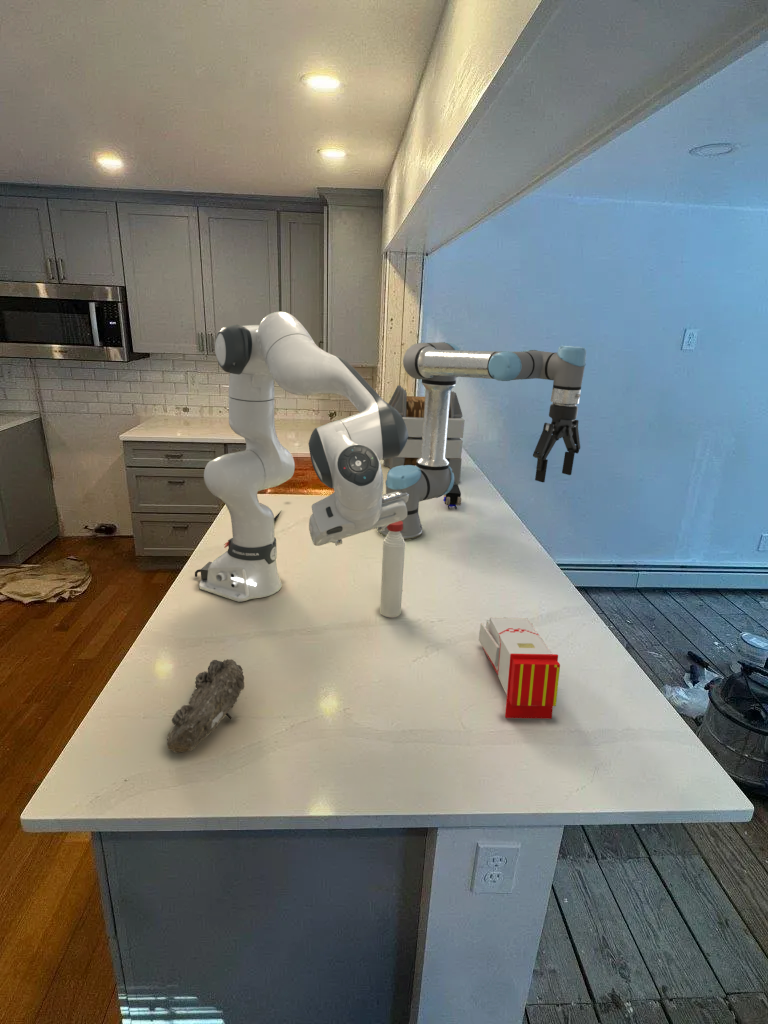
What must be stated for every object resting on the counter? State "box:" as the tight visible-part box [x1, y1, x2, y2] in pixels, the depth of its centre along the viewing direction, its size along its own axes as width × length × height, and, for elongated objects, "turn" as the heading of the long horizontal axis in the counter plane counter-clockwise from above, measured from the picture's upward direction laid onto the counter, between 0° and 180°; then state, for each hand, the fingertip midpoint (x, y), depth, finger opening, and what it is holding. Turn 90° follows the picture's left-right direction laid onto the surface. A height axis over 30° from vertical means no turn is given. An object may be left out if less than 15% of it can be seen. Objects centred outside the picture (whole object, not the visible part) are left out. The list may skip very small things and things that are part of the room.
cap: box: [387, 521, 403, 532], centre depth 140 cm, size 4×4×2 cm
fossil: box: [166, 658, 245, 754], centre depth 106 cm, size 22×10×15 cm
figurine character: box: [442, 483, 462, 510], centre depth 230 cm, size 7×8×15 cm
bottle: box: [379, 531, 406, 618], centre depth 144 cm, size 6×6×25 cm
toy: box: [478, 616, 561, 720], centre depth 122 cm, size 12×13×30 cm
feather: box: [274, 510, 282, 524], centre depth 212 cm, size 2×28×2 cm
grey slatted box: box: [383, 384, 465, 484], centre depth 268 cm, size 34×33×41 cm
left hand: (359, 535), depth 121 cm, fingers open, 8 cm apart
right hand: (553, 477), depth 165 cm, fingers open, 13 cm apart
